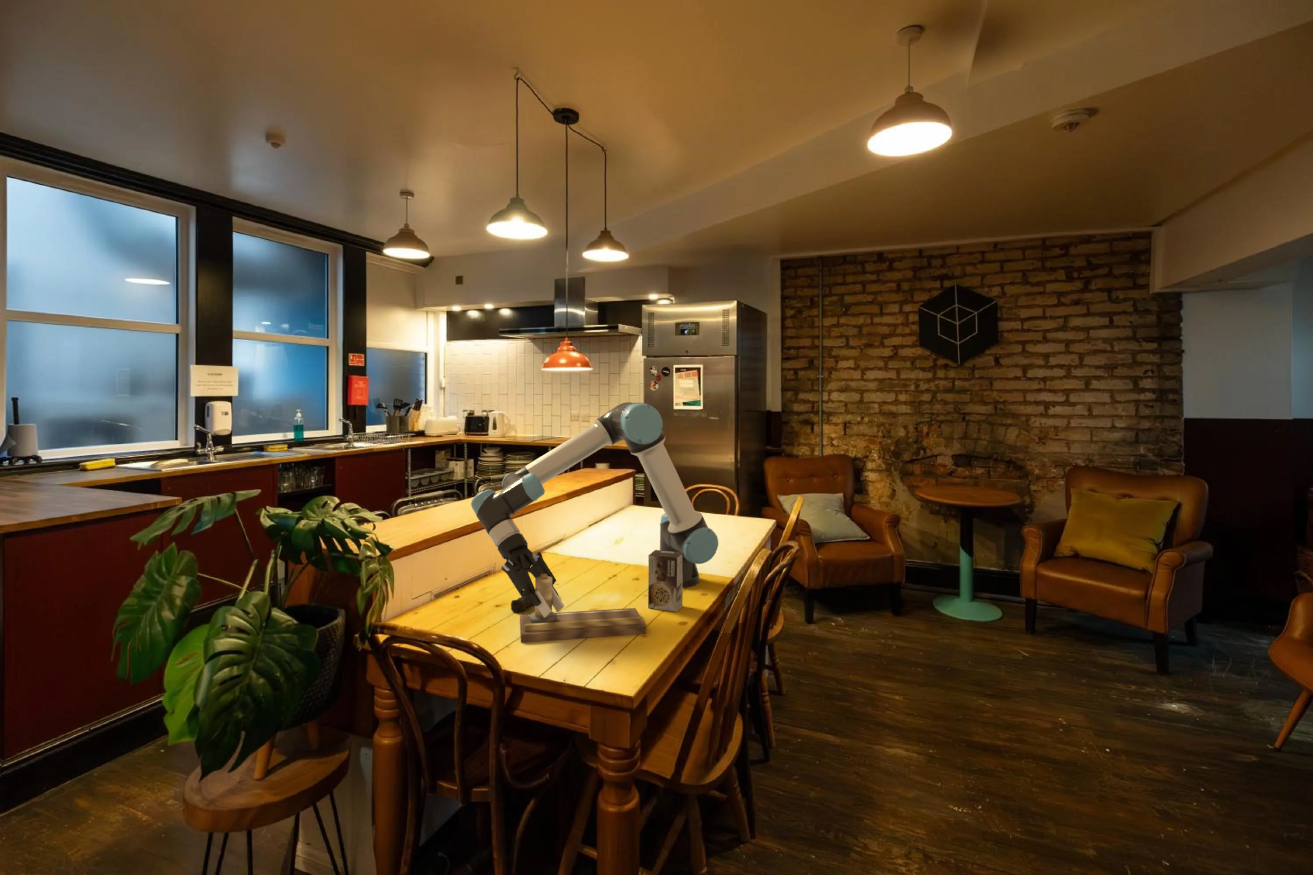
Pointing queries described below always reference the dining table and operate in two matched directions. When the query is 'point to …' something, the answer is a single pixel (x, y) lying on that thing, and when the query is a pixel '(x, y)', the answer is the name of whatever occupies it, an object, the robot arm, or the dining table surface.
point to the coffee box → (665, 580)
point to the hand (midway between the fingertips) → (554, 611)
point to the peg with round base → (545, 588)
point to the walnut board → (583, 625)
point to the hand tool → (520, 604)
